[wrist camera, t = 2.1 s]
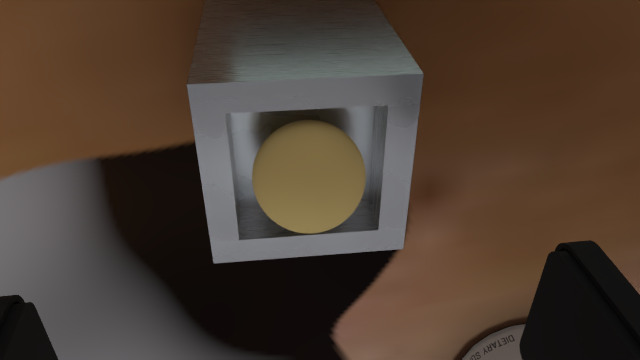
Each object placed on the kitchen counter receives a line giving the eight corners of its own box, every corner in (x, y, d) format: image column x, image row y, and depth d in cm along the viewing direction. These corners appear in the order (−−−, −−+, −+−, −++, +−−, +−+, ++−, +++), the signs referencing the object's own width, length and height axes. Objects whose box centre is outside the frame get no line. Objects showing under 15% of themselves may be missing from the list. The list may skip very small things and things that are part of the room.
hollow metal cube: (366, -12, 19) (423, 73, 13) (359, 127, 22) (403, 248, 16) (206, -7, 19) (186, 84, 12) (222, 135, 22) (213, 263, 16)
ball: (357, 97, 15) (379, 153, 12) (353, 187, 16) (373, 252, 14) (247, 103, 15) (248, 161, 12) (255, 194, 16) (257, 261, 14)
